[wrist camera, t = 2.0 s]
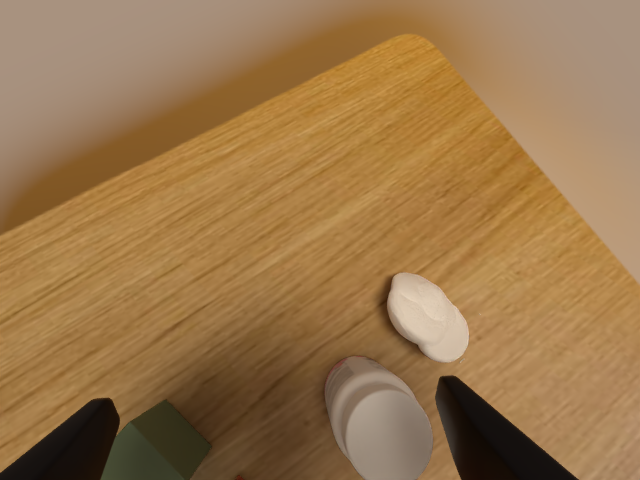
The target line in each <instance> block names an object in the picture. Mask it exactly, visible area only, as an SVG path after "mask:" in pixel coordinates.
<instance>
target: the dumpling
mask: <svg viewBox="0 0 640 480" xmlns="http://www.w3.org/2000/svg"><path fill="white" fill-rule="evenodd" d="M387 310H388V314H389V317H390V320H391V322H392V324H393V326H394V327H395V329H396V330H397V331H398V332H399V333H400V334H401V335H402V336H403V337H404V338H406V339H407V340H409V341H411V342H413V343H416V344H418V346H419V349H420V350H421V352H422V353H424V354H425V355H426V356H427V357H429V358H430V359H432V360H435V361H437V362H444V363H447V362H452V361H455V360H456V359H458V358H459V357H461V356H462V355H463V353H464V351H465V349H466V348H467V346H468V340H469V332H468V326H467V322H466V320H465V319H464V317H463V316H462V314H461V313H460V311H459V310H458V309H457V307H455V306H454V305H452V302H450V301H449V300H448V298H447V297H446V296H445V294H444V293H443V291H442V290H441V289H440V288H439V287H438V286H436V285H435V284H433V283H432V282H430V281H429V280H427V279H425V278H423V277H422V276H418V275H415V274H411V273H405V272H404V273H398V274H396V275H395V276H394V277H393V279H392V284H391V291H390V293H389V296H388V300H387ZM479 315H480V314H479ZM463 360H464V359H462V360H461V361H460V362H459V363H461V362H462V361H463Z"/></svg>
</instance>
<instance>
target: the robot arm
mask: <svg viewBox="0 0 640 480" xmlns="http://www.w3.org/2000/svg"><path fill="white" fill-rule="evenodd" d="M435 399H436V405H437V408H438V411H439V415H440V418H441V421H442V424H443V427H444V431H445V434H446V437H447V440H448V443H449V447H450V450H451V453H452V456H453V459H454V462H455V465H456V467H457V470H458V473H459V475H460V477H461V480H578V479H577V478H576V477H575V476H574V475H572V474H571V473H570V472H569V471H568V470H567V469H565V468H564V467H563V466H562V465H561V464H559V463H558V462H557V461H556V460H555V459H553V458H552V457H551V456H550V455H549V454H548V453H546V452H545V451H544V450H543V449H542V448H540V447H539V446H538V445H537V444H536V443H535V442H533V441H532V440H531V439H530V438H529V437H527V436H526V435H525V434H524V433H523V432H522V431H520V430H519V429H518V428H517V427H516V426H514V425H513V424H512V423H511V422H510V421H508V420H507V419H506V418H505V417H504V416H503V415H501V414H500V413H499V412H498V411H497V410H495V409H494V408H493V407H492V406H491V405H490V404H488V403H487V402H486V401H485V400H484V399H482V398H481V397H480V396H479V395H478V394H476V393H475V392H474V391H473V390H472V389H471V388H469V387H468V386H467V385H466V384H465V383H463V382H462V381H461V380H460V379H459V378H457V377H456V376H453V375H450V376H441V377H440V378H439V382H438V386H437V391H436V396H435ZM119 424H120V418H119V415H118V413H117V410H116V408H115V406H114V403H113V401H112V399H110V398H97V399H93V400H91V401H90V402H88V403H87V404H86V405H85V406H83V407H82V408H81V409H80V410H78V411H77V412H76V413H75V414H73V415H72V416H71V417H70V418H68V419H67V420H66V421H65V422H63V423H62V424H61V425H60V426H58V427H57V428H56V429H55V430H53V431H52V432H51V433H50V434H48V435H47V436H46V437H45V438H43V439H42V440H41V441H40V442H38V443H37V444H36V445H35V446H33V447H32V448H31V449H30V450H28V451H27V452H26V453H25V454H23V455H22V456H21V457H20V458H19V459H17V460H16V461H15V462H14V463H12V464H11V465H10V466H9V467H7V468H6V469H5V470H4V471H2V472H1V473H0V480H101V477H102V474H103V471H104V468H105V465H106V463H107V460H108V457H109V454H110V451H111V448H112V445H113V442H114V440H115V437H116V434H117V431H118V428H119Z"/></svg>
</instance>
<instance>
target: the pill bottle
mask: <svg viewBox="0 0 640 480" xmlns="http://www.w3.org/2000/svg"><path fill="white" fill-rule="evenodd" d="M325 402H326V406H327V411H328V415H329V419H330V423H331V427H332V431H333V434H334V437H335V439H336V442H337V444H338V446H339V448H340V449H341V451H342V452H343V454H344V455H345V456H346V457H347V458H348V459H349V460H350V461H351V463H352V465H353V467H354V468H355V469H356V471H357V472H358V473H359V474H360V475H361V476H362V477H363V478H364V479H365V480H416V479H417V478H418V477H419V476H420V475H421V474H422V473H423V471H424V470H425V468H426V466H427V465H428V463H429V460H430V457H431V454H432V448H433V435H432V428H431V425H430V422H429V419H428V417H427V415H426V413H425V411H424V410H423V408H422V407H421V406H420V405H419V403H418V402H417V400H416V397H415V396H414V394H413V392H412V391H411V389H410V388H409V387H408V386H407V385H406V384H405V383H404V382H403V381H402V380H401V379H400V378H399V377H397V376H396V375H395V374H393V373H391V372H390V371H389V370H387V369H386V368H384V367H383V366H382V365H380V364H379V363H377V362H376V361H374V360H372V359H370V358H367V357H363V356H352V357H348V358H345V359H343V360H341V361H340V362H338V363H337V364H336V365H335V366H334V367H333V368H332V370H331V371H330V373H329V375H328V377H327V380H326V383H325Z"/></svg>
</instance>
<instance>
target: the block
mask: <svg viewBox="0 0 640 480" xmlns="http://www.w3.org/2000/svg"><path fill="white" fill-rule="evenodd" d="M211 447H212V446H211V445H210V444H209V443H208V442H207V441H206V440H205V439H204V438H203V437H202V436H201V435H200V434H199V433H198V432H197V431H196V430H195V429H194V428H193V427H192V426H191V425H190V424H189V423H188V422H187V421H186V420H185V419H184V418H183V417H182V416H181V415H180V413H179V412H178V411H177V410H176V409H175V408H174V407H173V406H172V405H171V404H170V403H169V402H168V401H167V400H164V401H162V402H160V403H159V404H157V405H156V406H154V407H153V408H151V409H149V410H148V411H146V412H145V413H143V414H141V415H140V416H138V417H137V418H135V419H133V420H132V421H130V422H129V423H128V424H127V425H126V426H125V427H124V428H123V429H122V430H121V432H120V433H119V434H118V435H117V436H116V437H115V440H114V442H113V445H112V448H111V451H110V454H109V457H108V460H107V463H106V465H105V468H104V471H103V474H102V477H101V480H189V479H190V478H191V476H192V475H193V474H194V472H195V471H196V469H197V468H198V466H199V465H200V463H201V462H202V460H203V459H204V458H205V456H206V455H207V453H208V452H209V450H210V449H211Z"/></svg>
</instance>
